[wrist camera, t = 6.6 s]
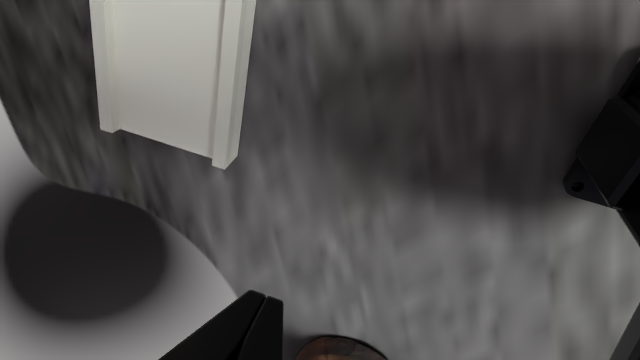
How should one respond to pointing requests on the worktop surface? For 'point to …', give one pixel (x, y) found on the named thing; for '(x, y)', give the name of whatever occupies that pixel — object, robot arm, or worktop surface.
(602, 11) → the worktop surface
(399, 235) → the worktop surface
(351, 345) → the mortar and pestle
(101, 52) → the rail
